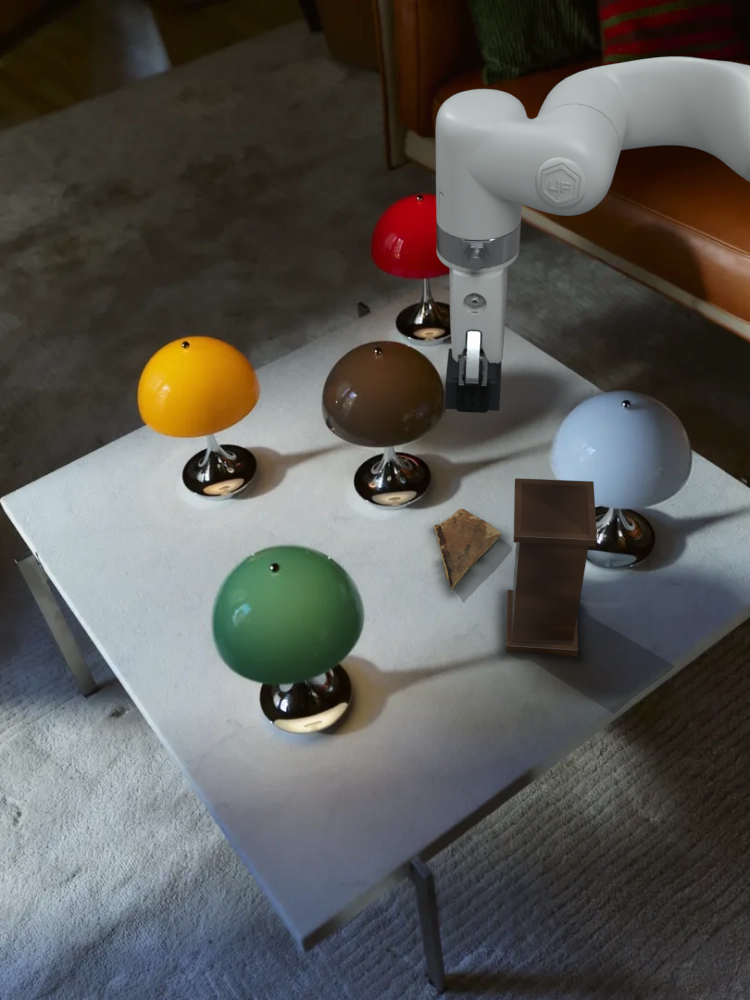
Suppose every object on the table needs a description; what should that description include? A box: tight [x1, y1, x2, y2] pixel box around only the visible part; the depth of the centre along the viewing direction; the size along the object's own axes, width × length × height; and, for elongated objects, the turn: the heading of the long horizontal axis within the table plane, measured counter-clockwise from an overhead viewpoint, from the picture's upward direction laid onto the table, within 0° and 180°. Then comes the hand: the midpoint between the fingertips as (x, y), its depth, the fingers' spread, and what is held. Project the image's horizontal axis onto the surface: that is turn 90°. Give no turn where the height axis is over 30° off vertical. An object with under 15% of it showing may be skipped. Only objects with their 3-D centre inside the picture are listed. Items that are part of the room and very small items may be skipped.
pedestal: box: [505, 477, 598, 657], centre depth 102 cm, size 8×8×20 cm
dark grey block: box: [444, 347, 503, 412], centre depth 97 cm, size 6×6×4 cm
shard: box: [433, 508, 502, 590], centre depth 117 cm, size 11×8×2 cm
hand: (473, 389), depth 98 cm, fingers closed on dark grey block, 5 cm apart
